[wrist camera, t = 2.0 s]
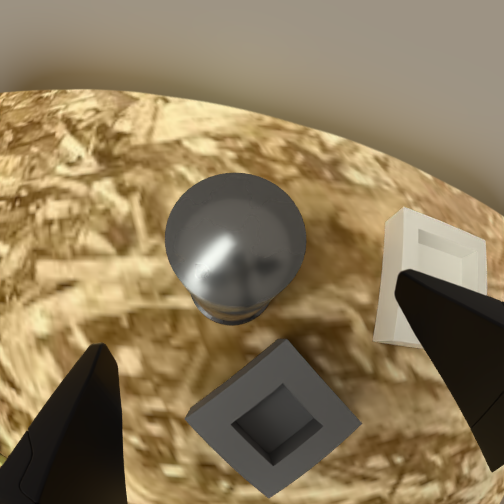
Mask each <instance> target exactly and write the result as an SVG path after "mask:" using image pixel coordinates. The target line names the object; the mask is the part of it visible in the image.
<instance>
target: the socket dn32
mask: <svg viewBox="0 0 504 504" xmlns="http://www.w3.org/2000/svg"><path fill="white" fill-rule="evenodd" d="M185 420H186V421H187V422H188V423H189V424H190V426H191V427H192V428H193V429H194V430H195V431H196V432H197V433H198V434H199V435H200V436H201V437H202V438H203V439H204V440H205V441H206V442H207V443H208V444H209V445H210V446H211V447H212V448H213V449H214V450H215V451H216V452H217V453H218V454H219V455H220V456H221V457H222V458H223V459H224V460H225V461H226V462H227V463H228V464H229V465H230V466H231V467H232V468H234V469H235V470H236V471H237V472H238V473H239V474H240V475H241V476H243V477H244V478H245V479H246V480H247V481H248V482H249V483H251V484H252V485H253V486H254V487H255V488H257V489H258V490H259V491H260V492H261V493H263V494H264V495H265V496H266V497H268V498H270V497H272V496H273V495H275V494H276V493H278V492H279V491H281V490H282V489H284V488H285V487H287V486H288V485H289V484H291V483H292V482H294V481H295V480H296V479H298V478H299V477H300V476H302V475H303V474H304V473H306V472H307V471H308V470H310V469H311V468H312V467H313V466H315V465H316V464H317V463H318V462H320V461H321V460H322V459H323V458H324V457H326V456H327V455H328V454H329V453H330V452H332V451H333V450H334V449H335V448H336V447H337V446H338V445H340V444H341V443H342V442H343V441H344V440H345V439H346V438H347V437H348V436H350V435H351V434H352V433H353V432H354V431H355V430H356V429H357V428H358V427H359V426H360V425H361V424H362V423H361V422H360V421H359V419H358V418H357V417H356V416H355V415H354V414H353V413H352V412H351V411H350V410H349V408H348V407H347V406H346V405H345V404H344V403H343V402H342V401H341V400H340V399H339V397H338V396H337V395H336V394H335V393H334V392H333V391H332V390H331V389H330V387H329V386H328V385H327V384H326V383H325V382H324V381H323V380H322V378H321V377H320V376H319V375H318V374H317V373H316V372H315V371H314V369H313V368H312V367H311V366H310V365H309V364H308V363H307V361H306V360H305V359H304V358H303V357H302V356H301V355H300V353H299V352H298V351H297V350H296V349H295V348H294V347H293V345H292V344H291V343H290V342H289V341H288V340H287V339H277V340H276V341H275V342H274V343H273V344H271V345H270V346H269V347H268V348H267V349H265V350H264V351H263V352H262V353H261V354H259V355H258V356H257V357H256V358H255V359H253V360H252V361H251V362H250V363H248V364H247V365H246V366H245V367H243V368H242V369H241V370H240V371H238V372H237V373H236V374H235V375H233V376H232V377H231V378H230V379H228V380H227V381H226V382H224V383H223V384H222V385H220V386H219V387H218V388H217V389H215V390H214V391H213V392H211V393H210V394H209V395H207V396H206V397H205V398H203V399H202V400H200V401H199V402H198V403H196V404H195V405H194V406H192V407H191V408H190V410H189V412H188V414H187V416H186V417H185Z"/></svg>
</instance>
